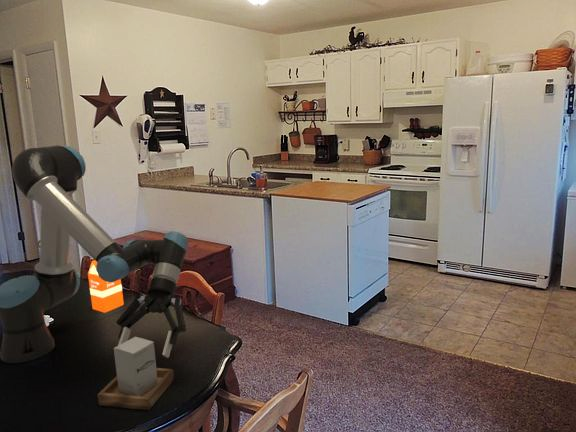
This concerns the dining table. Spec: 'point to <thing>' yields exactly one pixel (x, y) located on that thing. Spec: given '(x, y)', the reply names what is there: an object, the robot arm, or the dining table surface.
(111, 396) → the tray
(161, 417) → the dining table surface
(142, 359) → the supplement box
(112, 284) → the orange juice
